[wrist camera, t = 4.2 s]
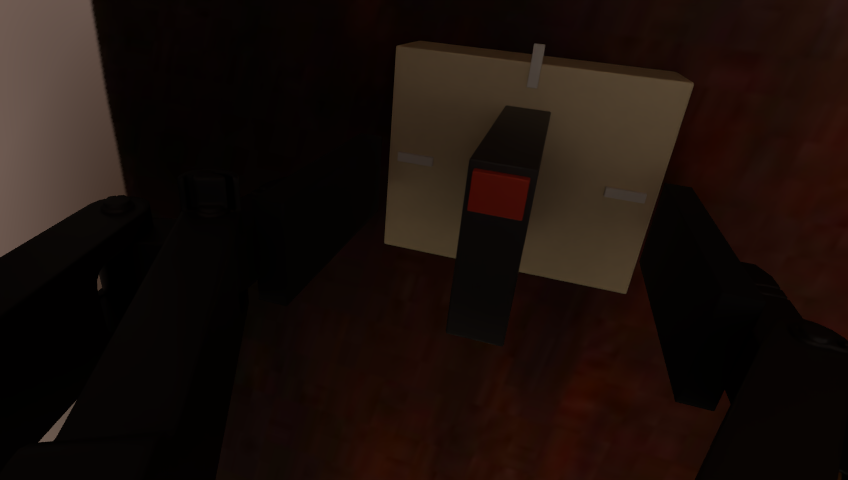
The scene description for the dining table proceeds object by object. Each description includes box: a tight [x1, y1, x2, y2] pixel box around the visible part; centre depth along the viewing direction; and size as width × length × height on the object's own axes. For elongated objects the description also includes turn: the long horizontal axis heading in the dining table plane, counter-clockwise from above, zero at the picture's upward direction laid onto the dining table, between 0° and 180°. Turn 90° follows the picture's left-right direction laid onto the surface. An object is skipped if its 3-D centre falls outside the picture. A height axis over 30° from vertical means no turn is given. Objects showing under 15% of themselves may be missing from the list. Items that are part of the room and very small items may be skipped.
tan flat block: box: [384, 41, 694, 294], centre depth 20 cm, size 10×9×3 cm
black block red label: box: [446, 105, 551, 346], centre depth 15 cm, size 5×2×7 cm, turn 174°
